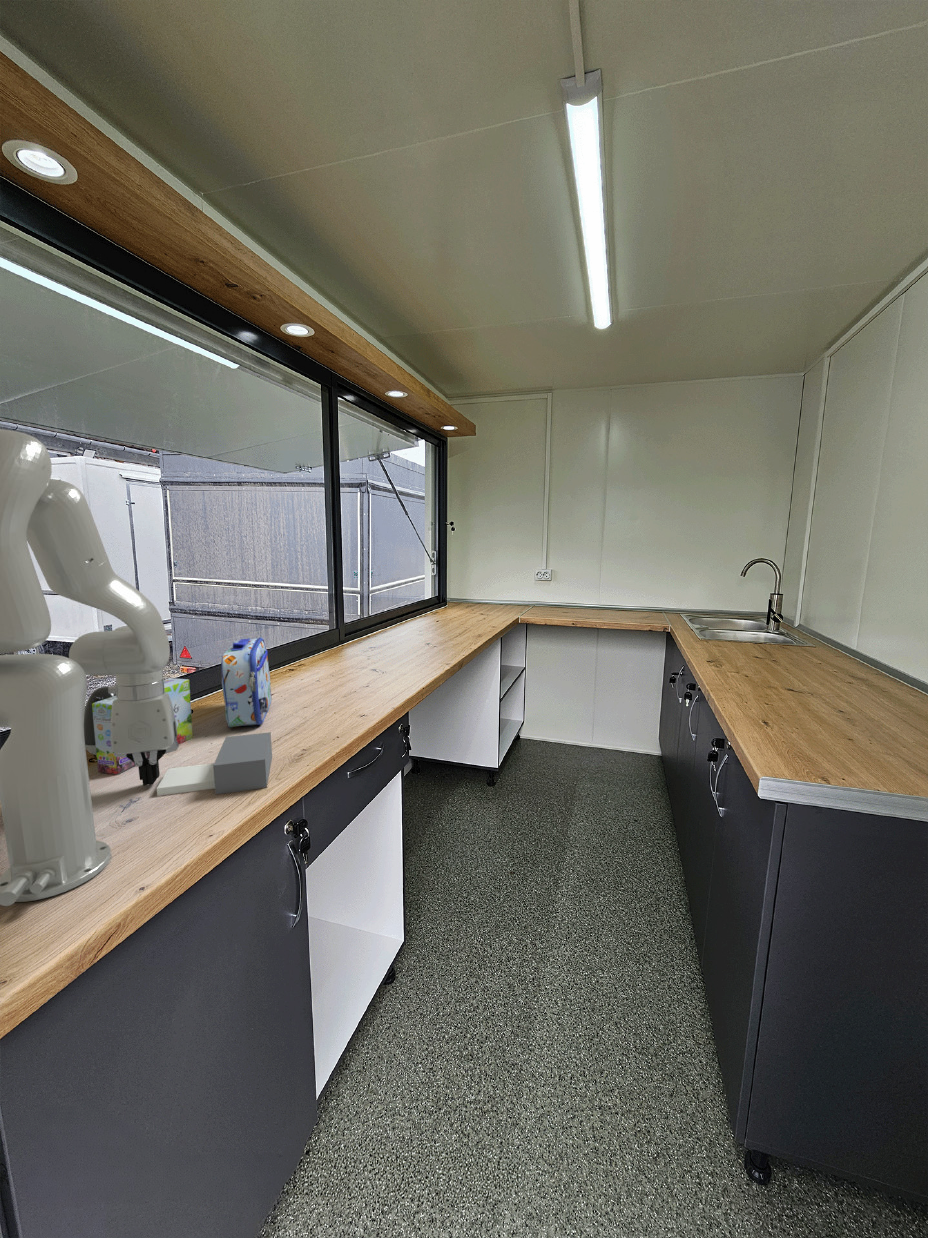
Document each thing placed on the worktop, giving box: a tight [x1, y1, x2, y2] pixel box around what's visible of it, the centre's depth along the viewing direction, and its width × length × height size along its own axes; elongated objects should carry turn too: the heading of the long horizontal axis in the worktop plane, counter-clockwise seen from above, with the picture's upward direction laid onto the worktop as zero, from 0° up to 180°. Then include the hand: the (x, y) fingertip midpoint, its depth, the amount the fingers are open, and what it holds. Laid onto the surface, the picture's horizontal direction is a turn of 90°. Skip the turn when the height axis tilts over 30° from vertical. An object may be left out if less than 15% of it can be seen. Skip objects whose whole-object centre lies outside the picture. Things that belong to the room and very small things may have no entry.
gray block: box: [213, 732, 273, 795], centre depth 102 cm, size 15×9×6 cm, turn 17°
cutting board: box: [156, 762, 215, 797], centre depth 100 cm, size 9×16×2 cm, turn 108°
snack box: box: [92, 677, 194, 775], centre depth 112 cm, size 21×6×15 cm, turn 168°
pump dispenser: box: [84, 686, 116, 756], centre depth 113 cm, size 10×10×15 cm
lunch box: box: [220, 637, 273, 728], centre depth 136 cm, size 28×10×22 cm, turn 17°
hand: (150, 782), depth 97 cm, fingers closed
